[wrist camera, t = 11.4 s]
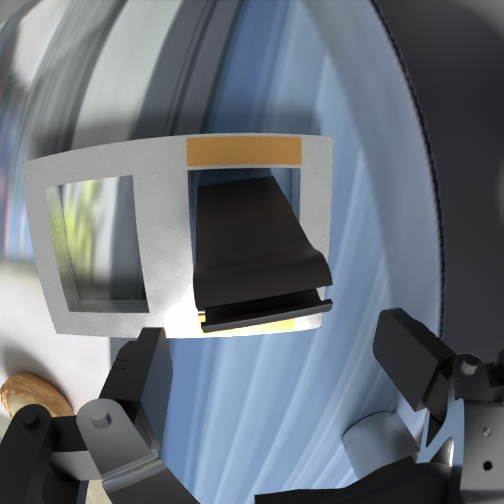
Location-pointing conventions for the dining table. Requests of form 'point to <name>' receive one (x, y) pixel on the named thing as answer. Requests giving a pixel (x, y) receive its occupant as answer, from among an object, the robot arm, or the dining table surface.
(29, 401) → the pastry
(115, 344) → the dining table surface
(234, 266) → the phone stand
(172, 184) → the white slotted tray
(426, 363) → the robot arm
